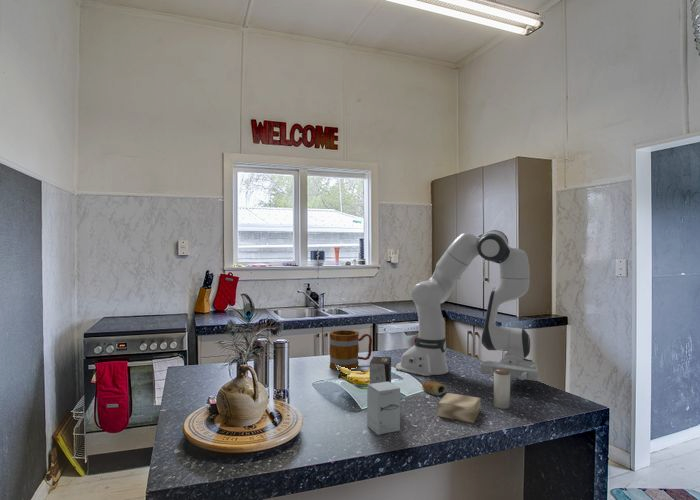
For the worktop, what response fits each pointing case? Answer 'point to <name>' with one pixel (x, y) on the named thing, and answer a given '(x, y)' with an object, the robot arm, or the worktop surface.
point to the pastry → (434, 388)
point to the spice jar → (502, 388)
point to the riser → (459, 407)
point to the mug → (346, 348)
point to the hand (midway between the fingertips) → (506, 376)
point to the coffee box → (380, 370)
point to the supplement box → (383, 407)
